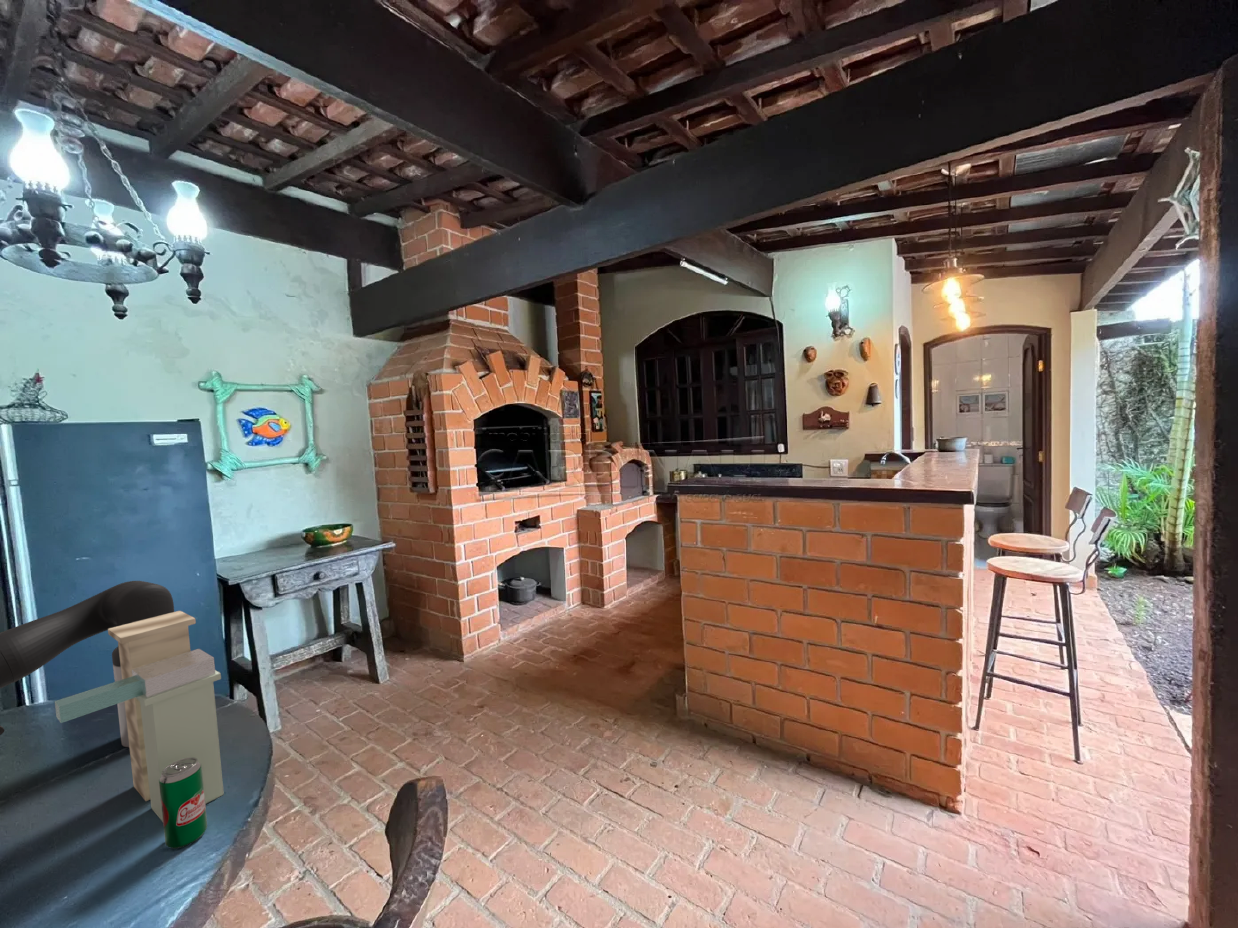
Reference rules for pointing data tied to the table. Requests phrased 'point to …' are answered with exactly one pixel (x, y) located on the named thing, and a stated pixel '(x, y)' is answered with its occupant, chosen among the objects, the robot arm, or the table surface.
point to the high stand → (143, 648)
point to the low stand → (182, 735)
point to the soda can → (183, 802)
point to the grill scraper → (139, 684)
